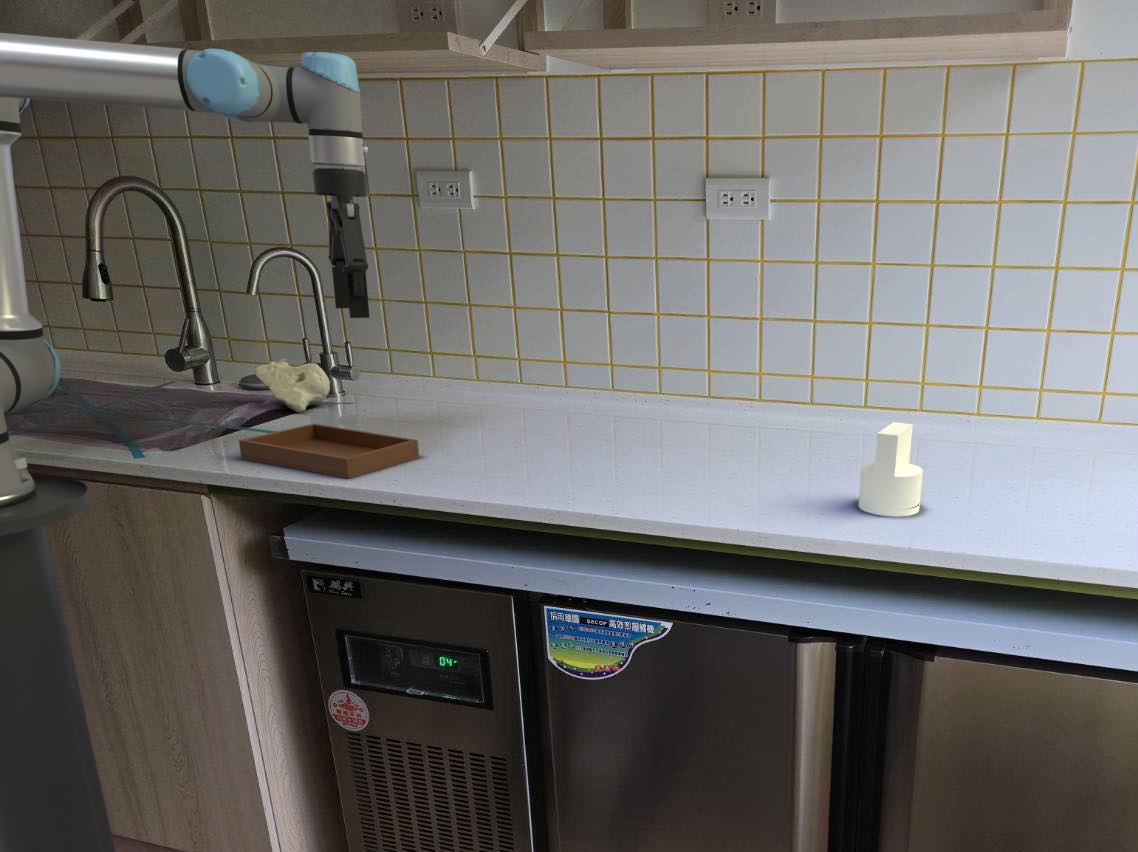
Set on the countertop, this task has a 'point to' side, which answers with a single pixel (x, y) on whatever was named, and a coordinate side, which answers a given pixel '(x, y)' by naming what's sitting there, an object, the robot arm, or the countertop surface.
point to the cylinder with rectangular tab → (891, 475)
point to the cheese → (295, 383)
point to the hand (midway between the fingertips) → (352, 313)
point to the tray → (329, 450)
